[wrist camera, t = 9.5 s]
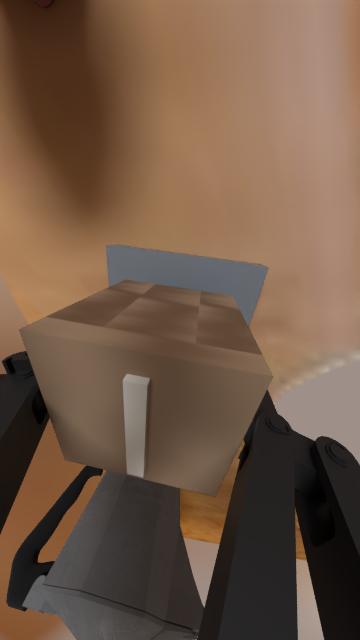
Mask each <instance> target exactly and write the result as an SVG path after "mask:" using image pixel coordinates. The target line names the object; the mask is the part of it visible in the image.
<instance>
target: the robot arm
mask: <svg viewBox="0 0 360 640" xmlns="http://www.w3.org/2000/svg"><path fill="white" fill-rule="evenodd" d="M2 363H3V365H4V367H5V370H6V372H7V374H0V534H1V531H2V529H3V526H4V524H5V522H6V519H7V517H8V515H9V512H10V510H11V508H12V505H13V503H14V500H15V498H16V496H17V493H18V491H19V489H20V486H21V484H22V481H23V479H24V477H25V474H26V472H27V470H28V467H29V465H30V463H31V460H32V458H33V455H34V453H35V451H36V448H37V446H38V444H39V441H40V439H41V437H42V434H43V432H44V430H45V427H46V425H47V422H48V420H49V418H50V416H49V414H48V411H47V408H46V405H45V402H44V399H43V396H42V394H41V391H40V388H39V385H38V382H37V379H36V377H35V374H34V371H33V368H32V365H31V362H30V359H29V357H28V354H27V351H24V352H19V353H16V354H13V355H11V356H9V357H7V358H5V359H4V360H3V361H2ZM244 442H245V445H244V447H243V449H242V451H241V453H240V455H239V457H238V458H239V459H240V462H239V466H238V470H237V474H236V478H235V482H234V487H233V491H232V495H231V499H230V503H229V508H228V512H227V516H226V520H225V524H224V529H223V533H222V537H221V541H220V545H219V550H218V554H217V558H216V562H215V566H214V570H213V575H212V580H211V583H210V587H209V591H208V596H207V600H206V605H205V608H204V612H203V617H202V621H201V625H200V629H199V633H198V638H197V640H298V631H297V630H298V629H297V587H296V586H297V584H296V538H295V508H296V512H297V517H298V522H299V526H300V531H301V535H302V540H303V544H304V549H305V554H306V558H307V563H308V567H309V572H310V576H311V581H312V585H313V590H314V595H315V599H316V604H317V608H318V613H319V618H320V622H321V627H322V631H323V636H324V640H360V465H359V463H358V462H357V460H356V459H355V457H354V456H353V455H352V454H351V453H350V452H349V451H348V450H347V449H346V448H345V447H344V446H343V445H341V444H340V443H339V442H337V441H335V440H333V439H331V438H329V437H324V436H321V437H318V438H317V439H316V441H313V440H311V439H309V438H307V437H305V436H303V435H301V434H299V433H297V432H295V431H294V430H292V429H291V427H290V425H289V424H288V422H287V421H286V420H285V419H284V418H283V417H282V416H280V415H279V414H278V413H277V411H276V409H275V406H274V404H273V402H272V399H271V397H270V394H269V392H268V390H267V391H266V393H265V395H264V397H263V399H262V401H261V403H260V405H259V407H258V409H257V411H256V413H255V415H254V418H253V420H252V422H251V424H250V426H249V428H248V430H247V432H246V434H245V436H244Z"/></svg>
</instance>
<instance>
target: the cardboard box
mask: <svg viewBox="0 0 360 640" xmlns="http://www.w3.org/2000/svg"><path fill="white" fill-rule="evenodd" d="M19 331H20V334H21V337H22V339H23V342H24V345H25V348H26V351H27V354H28V357H29V359H30V362H31V365H32V368H33V371H34V374H35V377H36V379H37V382H38V385H39V388H40V391H41V394H42V396H43V399H44V402H45V405H46V408H47V411H48V414H49V416H50V419H51V422H52V424H53V428H54V431H55V433H56V436H57V439H58V442H59V445H60V448H61V451H62V453H63V456H64V459H65V460H67V461H71V462H75V463H79V464H83V465H87V466H91V467H95V468H100V469H104V470H108V471H112V472H116V473H120V474H124V475H128V476H132V477H136V478H140V479H145V480H149V481H153V482H157V483H161V484H165V485H169V486H173V487H177V488H181V489H185V490H190V491H194V492H198V493H202V494H206V495H210V496H214V497H215V496H216V494H217V492H218V490H219V488H220V486H221V484H222V482H223V480H224V478H225V476H226V473H227V471H228V469H229V467H230V465H231V463H232V461H233V459H234V457H235V455H236V453H237V451H238V449H239V447H240V444H241V442H242V440H243V438H244V436H245V434H246V432H247V430H248V428H249V426H250V424H251V422H252V420H253V418H254V415H255V413H256V411H257V409H258V407H259V405H260V403H261V401H262V399H263V397H264V395H265V393H266V391H267V389H268V386H269V384H270V382H271V380H272V378H273V375H272V373H271V371H270V369H269V367H268V365H267V363H266V361H265V359H264V357H263V355H262V353H261V351H260V349H259V347H258V345H257V343H256V341H255V339H254V337H253V335H252V333H251V331H250V329H249V327H248V325H247V323H246V321H245V319H244V317H243V315H242V313H241V311H240V309H239V307H238V305H237V303H236V301H235V299H234V297H233V296H231V295H225V294H218V293H211V292H205V291H198V290H192V289H185V288H179V287H172V286H165V285H159V284H152V283H146V282H139V281H133V280H124V281H121V282H119V283H117V284H115V285H113V286H111V287H109V288H106V289H104V290H102V291H100V292H98V293H96V294H94V295H91V296H89V297H87V298H85V299H83V300H81V301H79V302H76V303H74V304H72V305H70V306H68V307H66V308H64V309H61V310H59V311H57V312H55V313H53V314H51V315H49V316H47V317H44V318H42V319H40V320H38V321H36V322H34V323H32V324H29V325H27V326H25V327H23V328H21V329H19Z"/></svg>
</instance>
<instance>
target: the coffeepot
mask: <svg viewBox="0 0 360 640" xmlns="http://www.w3.org/2000/svg"><path fill="white" fill-rule="evenodd" d="M102 472H103V469H100V468H95V467H91V466H85V467H84V469H83V470H82V471H81V472H80V474H79V475H78V476H77V477H76V478H75V480H74V481H73V482H72V483H71V484H70V486H69V487H68V488H67V489H66V490H65V492H64V493H63V494H62V495H61V497H60V498H59V499H58V500H57V501H56V503H55V504H54V506H53V507H52V508H51V509H50V510H49V512H48V513H47V514H46V515H45V517H44V518H43V519H42V520H41V521H40V522H39V524H38V525H37V526H36V527H35V529H34V530H33V531H32V532H31V533H30V534H29V536H28V537H27V538H26V539H25V541H24V542H23V543H22V545H21V546H20V548H19V549H18V551H17V553H16V555H15V557H14V560H13V563H12V569H11V575H10V581H9V587H8V593H7V600H6V602H7V604H8V606H9V607H12V608H15V609H19V610H22V611H26V610H27V608H29V609H32V610H35V611H38V612H42V613H47V614H51V615H53V614H58V615H59V617H60V618H61V619H62V621H63V622H64V623H65V625H66V626H67V627H68V629H69V630H70V631H71V633H72V634H73V635H74V637H75V638H76V639H77V640H195V639H197V636H198V633H199V629H200V625H201V621H202V617H203V612H204V607H203V605H202V602H201V599H200V596H199V593H198V590H197V587H196V584H195V580H194V577H193V574H192V570H191V566H190V562H189V558H188V554H187V551H186V547H185V543H184V539H183V535H182V531H181V527H180V488H177V487H173V486H169V485H165V484H161V483H157V482H153V481H149V480H145V479H140V478H136V477H132V476H128V475H124V474H120V473H116V472H112V471H108V470H107V471H106V472H105V474H104V476H103V478H102V480H101V481H100V483H99V485H98V487H97V488H96V490H95V492H94V494H93V496H92V497H91V499H90V501H89V503H88V504H87V506H86V508H85V510H84V512H83V513H82V515H81V517H80V519H79V520H78V522H77V524H76V526H75V527H74V529H73V531H72V533H71V534H70V536H69V538H68V540H67V541H66V543H65V545H64V547H63V548H62V550H61V552H60V554H59V556H58V558H57V559H56V561H50V562H45V563H38V555H39V553H40V550H41V549H42V548H43V546H44V545H45V544H46V543H47V541H48V540H49V538H50V537H51V535H52V534H53V532H54V531H55V529H56V528H57V526H58V524H59V522H60V521H61V519H62V517H63V516H64V514H65V513H66V512H67V510H68V509H69V508H70V507H71V506H72V505H73V504H74V502H75V501H76V500H77V498H78V496H79V495H80V493H81V491H82V489H83V486H84V485H85V483H86V482H87V480H88V479H89V478H90V477H92V476H98V475H99V476H101V475H102Z"/></svg>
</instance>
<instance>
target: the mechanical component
mask: <svg viewBox="0 0 360 640" xmlns="http://www.w3.org/2000/svg"><path fill="white" fill-rule="evenodd" d="M34 1H35V2H36V3H37V4H38V5H40V6H42V7H46V6H48V5H49V4H50V3H51V1H52V0H34Z"/></svg>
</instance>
